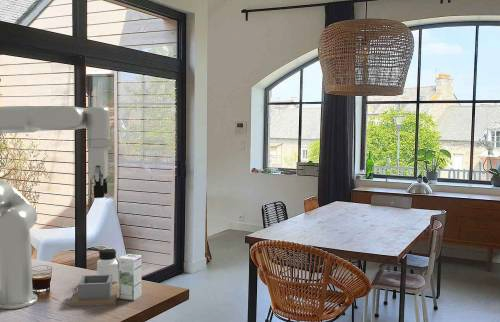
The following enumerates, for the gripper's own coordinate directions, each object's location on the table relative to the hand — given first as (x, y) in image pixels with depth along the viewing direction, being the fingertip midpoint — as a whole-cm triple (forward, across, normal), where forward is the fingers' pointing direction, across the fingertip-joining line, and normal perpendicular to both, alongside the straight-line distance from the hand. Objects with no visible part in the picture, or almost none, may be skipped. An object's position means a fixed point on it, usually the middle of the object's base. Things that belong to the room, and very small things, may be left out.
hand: (100, 195), depth 165 cm
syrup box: (+36, 0, +8) cm, 37 cm away
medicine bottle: (+36, -20, -1) cm, 41 cm away
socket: (+35, -1, -3) cm, 35 cm away
